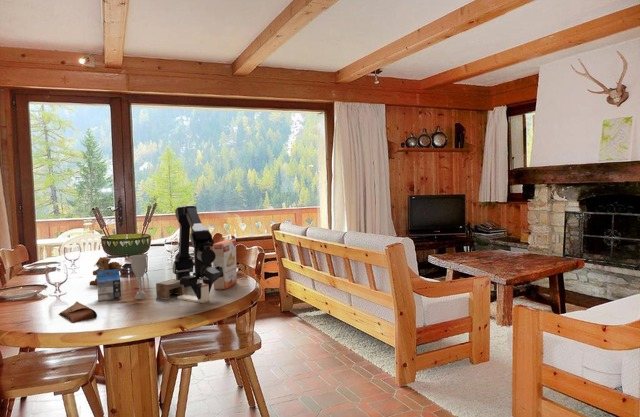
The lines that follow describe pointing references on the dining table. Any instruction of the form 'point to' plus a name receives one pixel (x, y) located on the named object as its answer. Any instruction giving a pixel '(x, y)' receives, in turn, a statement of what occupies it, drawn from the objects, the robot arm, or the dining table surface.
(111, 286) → the label tape cartridge
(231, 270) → the cracker box
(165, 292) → the box
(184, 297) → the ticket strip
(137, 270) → the chalice
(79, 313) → the sunglasses case
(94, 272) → the stuffed squirrel
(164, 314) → the dining table surface
